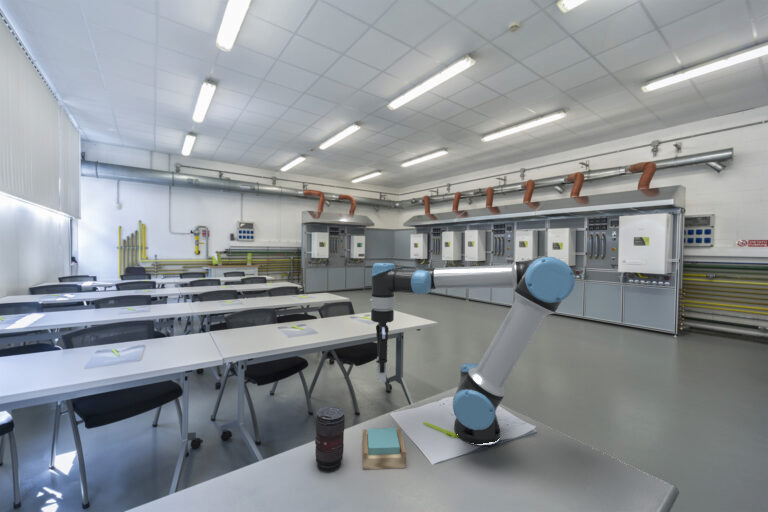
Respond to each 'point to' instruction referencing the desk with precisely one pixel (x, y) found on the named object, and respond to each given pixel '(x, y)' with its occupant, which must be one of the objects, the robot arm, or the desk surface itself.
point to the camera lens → (329, 438)
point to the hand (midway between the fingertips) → (381, 378)
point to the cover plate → (383, 441)
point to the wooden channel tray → (383, 456)
